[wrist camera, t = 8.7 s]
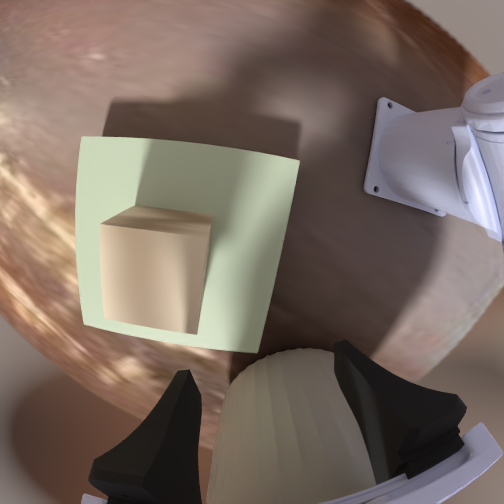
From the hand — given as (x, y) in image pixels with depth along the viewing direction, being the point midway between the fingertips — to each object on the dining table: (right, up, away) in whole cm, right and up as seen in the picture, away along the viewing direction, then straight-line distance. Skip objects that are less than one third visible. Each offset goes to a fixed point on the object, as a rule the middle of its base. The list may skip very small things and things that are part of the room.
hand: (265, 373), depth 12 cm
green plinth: (-6, +7, +7) cm, 12 cm away
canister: (+3, -8, +13) cm, 16 cm away
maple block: (-6, +6, +4) cm, 9 cm away
